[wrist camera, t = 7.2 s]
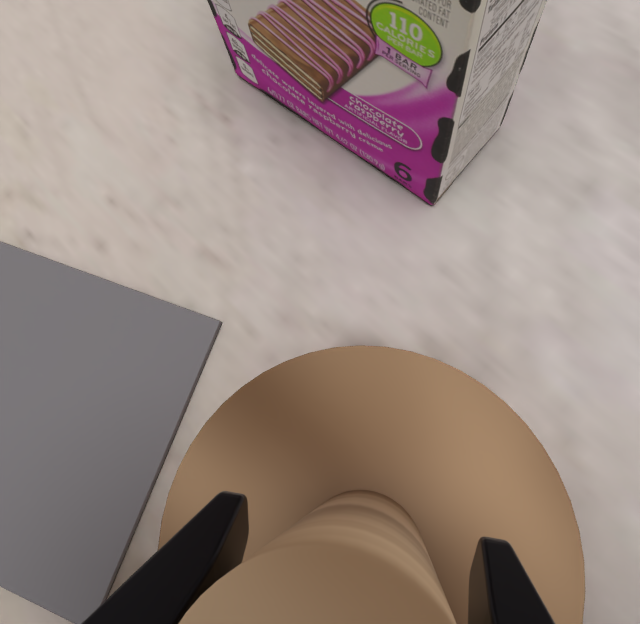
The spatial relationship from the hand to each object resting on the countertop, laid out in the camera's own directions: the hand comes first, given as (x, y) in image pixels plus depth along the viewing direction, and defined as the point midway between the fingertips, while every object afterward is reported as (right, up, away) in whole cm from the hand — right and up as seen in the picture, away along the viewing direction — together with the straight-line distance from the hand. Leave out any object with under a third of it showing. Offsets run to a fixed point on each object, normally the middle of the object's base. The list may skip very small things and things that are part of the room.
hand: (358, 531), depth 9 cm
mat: (-12, -1, +14) cm, 18 cm away
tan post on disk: (+1, -3, +7) cm, 8 cm away
